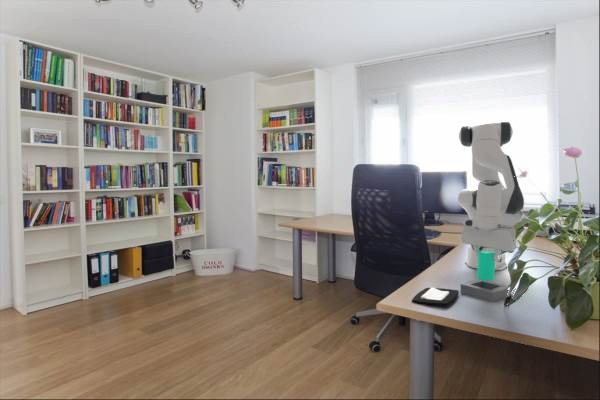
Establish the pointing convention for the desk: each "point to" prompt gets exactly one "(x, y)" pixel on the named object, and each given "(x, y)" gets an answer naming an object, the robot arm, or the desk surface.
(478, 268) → the candle
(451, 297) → the light switch
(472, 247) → the robot arm
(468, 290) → the socket block
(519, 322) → the desk surface
